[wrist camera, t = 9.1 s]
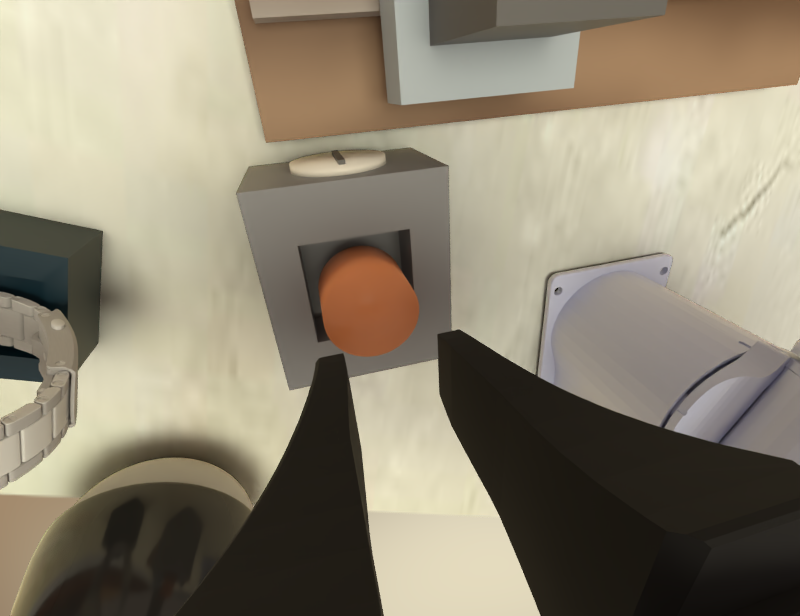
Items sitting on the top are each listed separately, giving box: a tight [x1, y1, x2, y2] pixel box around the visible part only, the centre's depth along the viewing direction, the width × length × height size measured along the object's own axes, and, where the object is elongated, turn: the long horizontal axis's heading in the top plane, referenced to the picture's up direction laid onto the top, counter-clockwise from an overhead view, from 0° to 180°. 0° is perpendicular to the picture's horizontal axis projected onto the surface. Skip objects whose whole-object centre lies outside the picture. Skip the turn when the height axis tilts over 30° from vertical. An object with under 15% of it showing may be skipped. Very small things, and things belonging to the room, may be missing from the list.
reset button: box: [318, 246, 419, 357], centre depth 14 cm, size 3×3×2 cm
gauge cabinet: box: [236, 148, 451, 390], centre depth 17 cm, size 8×7×5 cm
